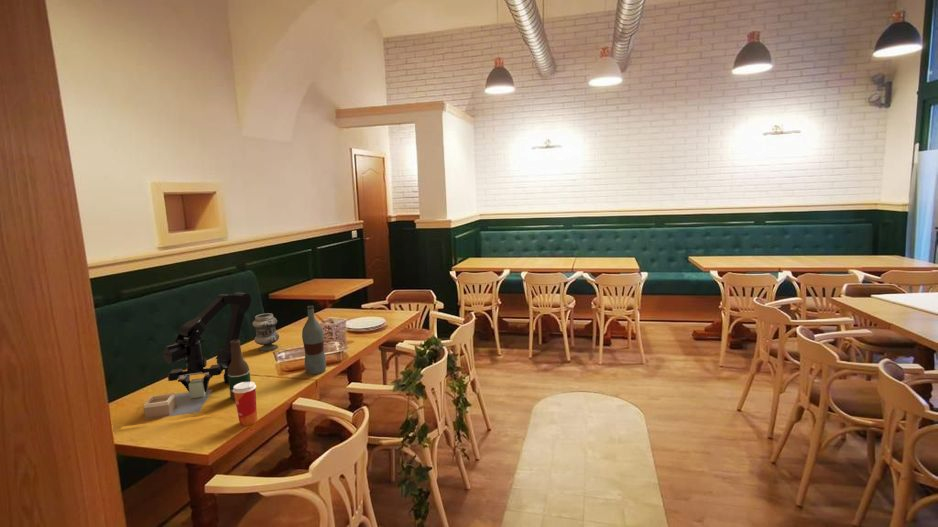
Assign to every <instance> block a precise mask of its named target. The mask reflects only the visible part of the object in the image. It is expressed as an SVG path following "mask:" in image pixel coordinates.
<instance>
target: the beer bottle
mask: <svg viewBox="0 0 938 527" xmlns="http://www.w3.org/2000/svg"><path fill="white" fill-rule="evenodd" d="M230 344H231V357H232V358H231V363H230V365H229V367H228V380H229V383H228V388H229V394H230V399H231V400H233V401H235V396H234V392H233V387H234V386H235V385H236V384H238V383H241V382H250V381H251V373H250V368H249V364H248V363H247V361H246V360H245V359H244V358H243V353H242V346H241V341H240V339H239V340H232V341H231V342H230ZM251 382H252V381H251Z"/></svg>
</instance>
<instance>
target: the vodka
mask: <svg viewBox="0 0 938 527" xmlns="http://www.w3.org/2000/svg"><path fill="white" fill-rule="evenodd" d="M306 309H307V320H306V322H305V324H304V325H303V328H302V333H301V339H302V343H303V348H304V349H303V350H304V368H305V371H306V374H308V375H319V374H322V373H324V372H326V368H327V358H326V354H325V350H324V349H325V346H324V345H325V344H324V342H325V341H324V337H325V336H324V335H325V334H324V329H323V327H322V325H321V324H320V322H319V321H318V320H317V319H316V318H315V310H314V305H308V306H306Z"/></svg>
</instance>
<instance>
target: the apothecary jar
mask: <svg viewBox="0 0 938 527" xmlns="http://www.w3.org/2000/svg"><path fill="white" fill-rule="evenodd" d="M277 324H278V320H277V318H276V317H275V316H274V314H273V313H269V312H267V313H261V314H257V315H256V316H255V317H254V321H252V326H253V327H254V328H255V333H256V336H255V337H254V338H253V339H254V342H255V343H256V345H260V347H258V348H257V351H258V352H259V353H260V352H263V353H264V352H270V351H271V352H272V351H275V350H277V349H278V348H279V346H278V345H277V344H275V343H276V342H277V341H279V339H280V335H279V333H278V332H277V329H276V325H277Z"/></svg>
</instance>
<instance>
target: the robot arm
mask: <svg viewBox="0 0 938 527" xmlns="http://www.w3.org/2000/svg"><path fill="white" fill-rule="evenodd" d="M252 300H253V299H252V296H251V295H250V294H249V293H245V292H234V293H233V294H223V293H220V294H218V295H216V298H214V299H213V301H212V302H210V303H209V304H208V305H207V307H206V308H205V309H203V310H202V312H200V313H199V314H198V315H197V316H196V317H195V318H192V319H190V320H188V321H187V322H185V323H184V324H183V325H181V326H180V328H179V329H178V330H179V333H178V334H177V336H176V338H175V340H174V342H173V343H172V344H171V345H170V344H169V345H166V346H165V347H164V348H165V349H164V350H163V353H162V357H163V360H164V362H165V363H166V364H168V365H170V364H173V363H176V362H179V361H181V360H182V361H183V360H185V364H186V370H183V368H175V369H172V370H171V371H170V372H169V373H168V374H167V381H168V382H173V381H177V382H178V383H179V382H180V383H181V384H182V385H183V386H184V388H186V390H187V391H188V392H189V385H188V384H189V383H190V381H191V380H190V378H191V377H190V376H194V375H195V376H197V375H202V374H204V376H203V378H204V390H205V392H206V391H207V390H208V387H209V384H210V379H211V378H213V377H215V376H220V375H221V374H222V372H223V371H224V373H223V381H224V384H229V380H228V367H229V365H230V363H231V358H232V357H231V344H230V342H231V341H232V340H240V336H241V330H242V326H243V322H244V318H245V314H246V313H247V312H248V310H249V309H250V306H251V304H252ZM228 305H229V307H230V311H231V315H230V321H229V324H228V329H227V334H226V338H225V343H224V346H223V347H222V349H218V350H217V355H216V357H215V359H216V364H211V366H210V367H207V365H208V363H207V358H206V357H205V358H204V356H203V354H202V346H201V343H205V342H206V339H204V338H203V337H202V335H203V334H204V332H205V331H206V327H207V325H208V324H209V323H210V322H211V321H212V320H213V319H214V318H215V317H216V316H217V315H218V314H219V313H220V312H221V311H222V310H223V309H224V308H225V307H226V306H228ZM189 393H190V392H189Z"/></svg>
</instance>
